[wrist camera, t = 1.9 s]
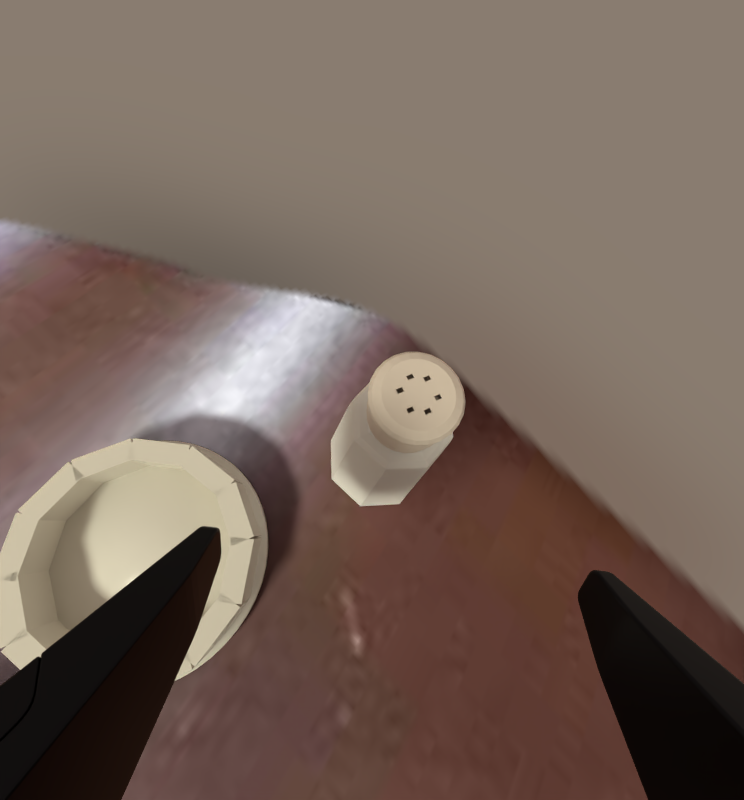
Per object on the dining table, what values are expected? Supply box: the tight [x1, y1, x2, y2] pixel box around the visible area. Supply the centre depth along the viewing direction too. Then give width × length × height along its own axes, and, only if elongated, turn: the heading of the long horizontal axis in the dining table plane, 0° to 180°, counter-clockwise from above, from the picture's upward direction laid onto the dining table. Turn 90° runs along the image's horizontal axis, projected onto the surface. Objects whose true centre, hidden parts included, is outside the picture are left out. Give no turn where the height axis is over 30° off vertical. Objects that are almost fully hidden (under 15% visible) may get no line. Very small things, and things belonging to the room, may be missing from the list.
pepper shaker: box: [331, 352, 466, 506], centre depth 16 cm, size 5×5×11 cm
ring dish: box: [0, 438, 269, 681], centre depth 17 cm, size 11×11×2 cm
